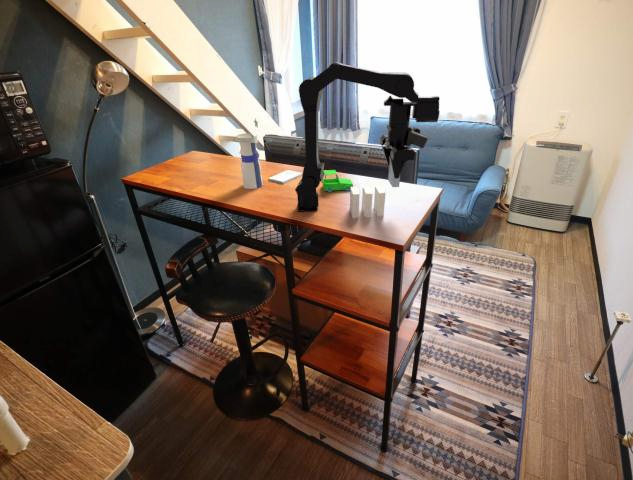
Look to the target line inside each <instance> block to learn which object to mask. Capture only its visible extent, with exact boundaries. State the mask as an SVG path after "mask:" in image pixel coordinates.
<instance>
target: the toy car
mask: <svg viewBox="0 0 633 480" xmlns="http://www.w3.org/2000/svg"><path fill="white" fill-rule="evenodd" d="M324 173H325V175H324V177H323V179H322V181H321V183H322V188H323V191H324V192H328V193H332V192H333V191H342V190H344V191H347V192H349V191H350V187H354V183H353V182H352V180H351V179H350V178H340V177H339V176H338V173H337V171H336V169H329V170H327V169H326V170H324ZM332 175H335V178H332V177H331V178H327V176H332Z"/></svg>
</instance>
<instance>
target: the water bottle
mask: <svg viewBox="0 0 633 480" xmlns="http://www.w3.org/2000/svg"><path fill="white" fill-rule="evenodd" d="M253 122H254V126H255V127H256V128H259V126H258V123H259V122H258V121H257V118H256V117H255V118H254V120H253ZM258 139H259V138H258V134H256V135H254V136H252V133H249V132H247V133H246V132H245V133H240V134H236V137H235V139H234V140H235V142H236V143H239V145H240V150H239V154H240V157H241V158H240V159H241V162H240V166H241V175H242V177H241V178H242V187H243V188H244V189H246V190H256V189H259V188H262V187H263V186H264V183H263V178H262V170H261V169H262V168H261V162H260V160H259V158H260V153H259V150H258V149H257V144H259V140H258Z"/></svg>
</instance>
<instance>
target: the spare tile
mask: <svg viewBox="0 0 633 480" xmlns="http://www.w3.org/2000/svg"><path fill="white" fill-rule="evenodd" d="M390 156H391V155H390ZM387 177H388V178H387V180H388V182H389V184H390V186H391V187H392V188H399V187H400V182H401V175H400V176H399V178H397V179H395V177H394V174H393V170H392V166H391V162H390V164H389V167H388V175H387Z"/></svg>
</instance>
